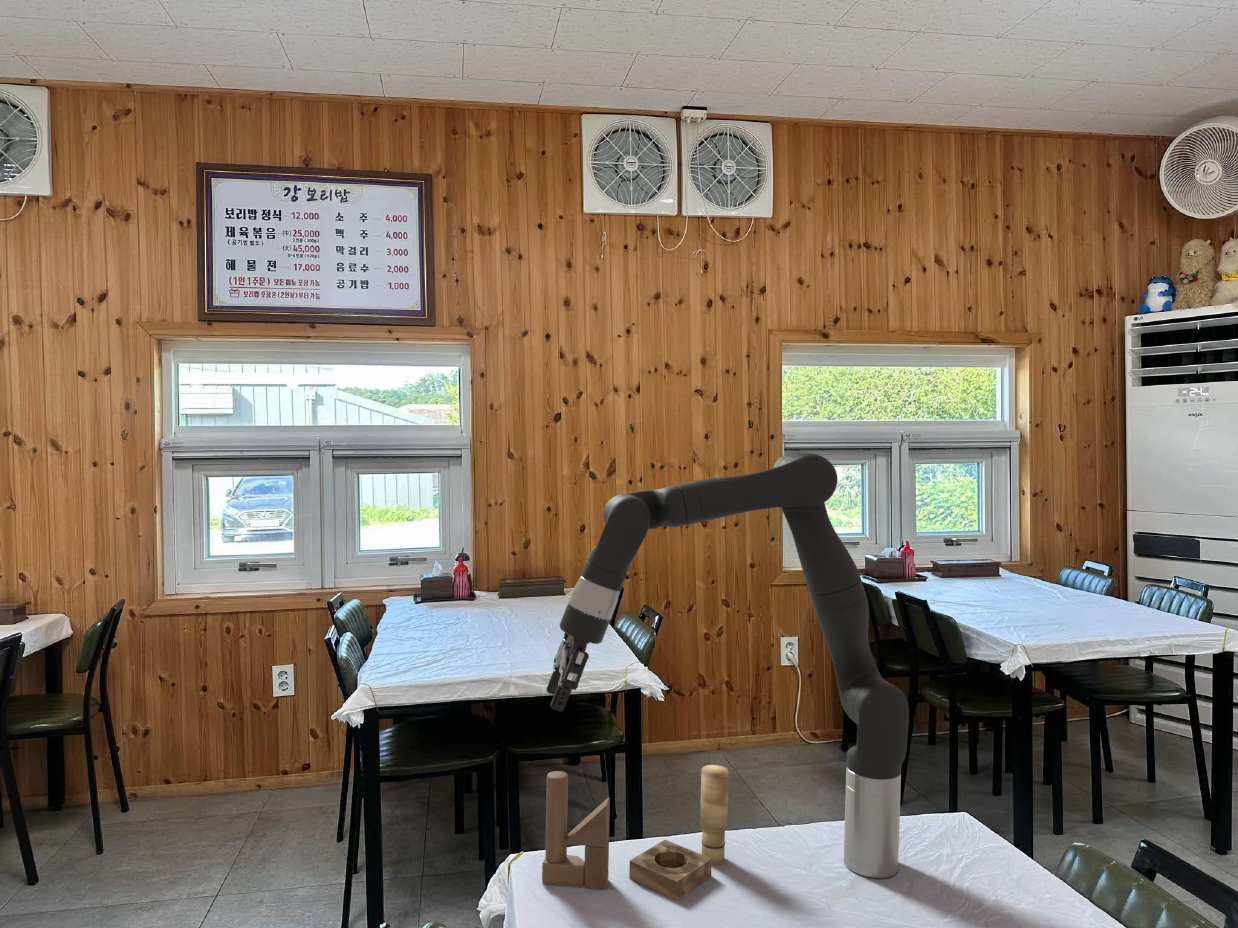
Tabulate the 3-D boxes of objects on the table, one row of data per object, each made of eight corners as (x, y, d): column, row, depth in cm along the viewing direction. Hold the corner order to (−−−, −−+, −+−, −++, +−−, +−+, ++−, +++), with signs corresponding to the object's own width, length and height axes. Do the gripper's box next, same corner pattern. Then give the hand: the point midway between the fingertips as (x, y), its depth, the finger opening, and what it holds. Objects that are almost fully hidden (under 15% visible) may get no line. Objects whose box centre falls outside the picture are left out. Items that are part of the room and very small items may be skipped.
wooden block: (605, 890, 136) (607, 783, 135) (541, 884, 137) (543, 777, 137) (608, 879, 139) (610, 774, 139) (546, 872, 141) (548, 769, 140)
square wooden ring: (664, 855, 147) (665, 839, 147) (711, 875, 141) (711, 858, 141) (629, 877, 140) (629, 860, 140) (676, 899, 133) (677, 881, 133)
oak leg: (709, 849, 150) (711, 762, 150) (731, 858, 147) (733, 769, 146) (694, 859, 146) (696, 770, 146) (716, 868, 143) (718, 778, 143)
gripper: (617, 626, 129) (579, 723, 129) (604, 607, 143) (570, 695, 143) (573, 610, 128) (535, 707, 127) (564, 593, 142) (530, 681, 141)
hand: (553, 701), depth 135 cm, fingers open, 8 cm apart
